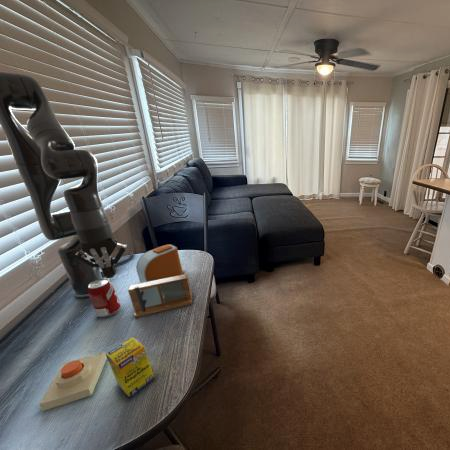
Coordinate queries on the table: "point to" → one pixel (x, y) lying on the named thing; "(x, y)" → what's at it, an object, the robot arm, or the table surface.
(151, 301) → the window pane
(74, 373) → the button
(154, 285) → the window frame
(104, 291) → the soda can
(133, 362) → the supplement box
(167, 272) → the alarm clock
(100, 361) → the control plate
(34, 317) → the table surface
